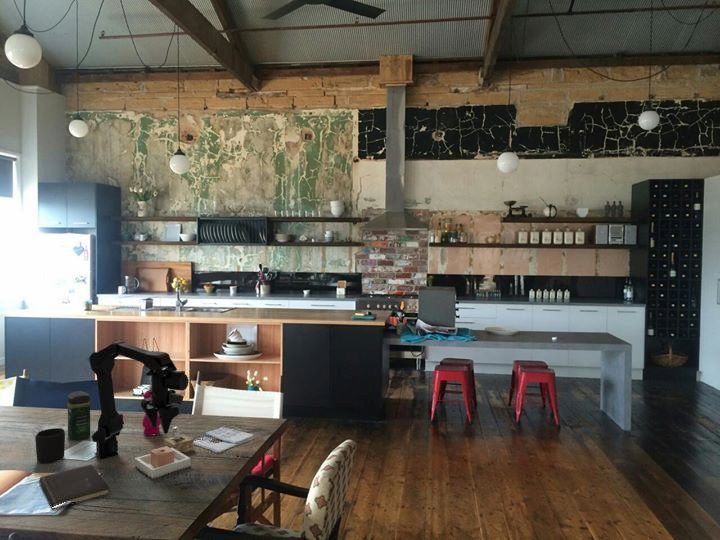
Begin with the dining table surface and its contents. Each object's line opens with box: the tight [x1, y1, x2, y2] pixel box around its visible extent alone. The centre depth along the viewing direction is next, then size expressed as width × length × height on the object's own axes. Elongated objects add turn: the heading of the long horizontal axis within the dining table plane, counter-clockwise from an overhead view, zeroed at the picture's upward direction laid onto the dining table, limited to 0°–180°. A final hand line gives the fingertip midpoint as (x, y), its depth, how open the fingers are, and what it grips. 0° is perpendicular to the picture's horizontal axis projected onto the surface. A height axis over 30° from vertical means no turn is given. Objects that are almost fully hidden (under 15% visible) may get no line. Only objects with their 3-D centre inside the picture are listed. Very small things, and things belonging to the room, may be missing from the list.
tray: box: [134, 448, 191, 480], centre depth 186 cm, size 14×14×3 cm
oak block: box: [163, 433, 195, 454], centre depth 201 cm, size 8×8×4 cm
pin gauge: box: [171, 425, 181, 442], centre depth 201 cm, size 2×2×8 cm
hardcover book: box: [39, 464, 111, 508], centre depth 169 cm, size 16×23×2 cm
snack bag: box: [194, 426, 255, 454], centre depth 211 cm, size 19×20×2 cm
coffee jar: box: [67, 390, 91, 441], centre depth 212 cm, size 10×8×19 cm
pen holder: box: [34, 427, 66, 465], centre depth 191 cm, size 9×9×10 cm
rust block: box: [150, 446, 174, 468], centre depth 186 cm, size 6×6×5 cm
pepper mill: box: [141, 385, 161, 436], centre depth 218 cm, size 7×7×20 cm
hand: (160, 430), depth 189 cm, fingers open, 9 cm apart
